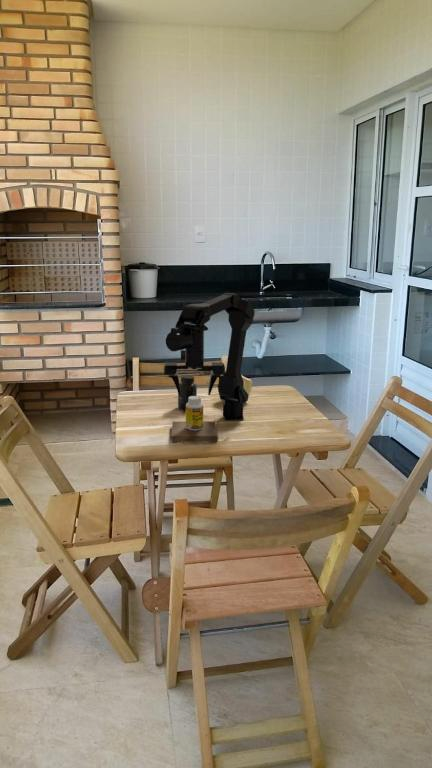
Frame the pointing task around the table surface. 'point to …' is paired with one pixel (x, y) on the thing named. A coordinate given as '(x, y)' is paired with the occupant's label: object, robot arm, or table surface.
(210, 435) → the walnut block
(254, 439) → the table surface
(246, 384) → the sculpture
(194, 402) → the supplement bottle
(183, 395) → the supplement bottle
